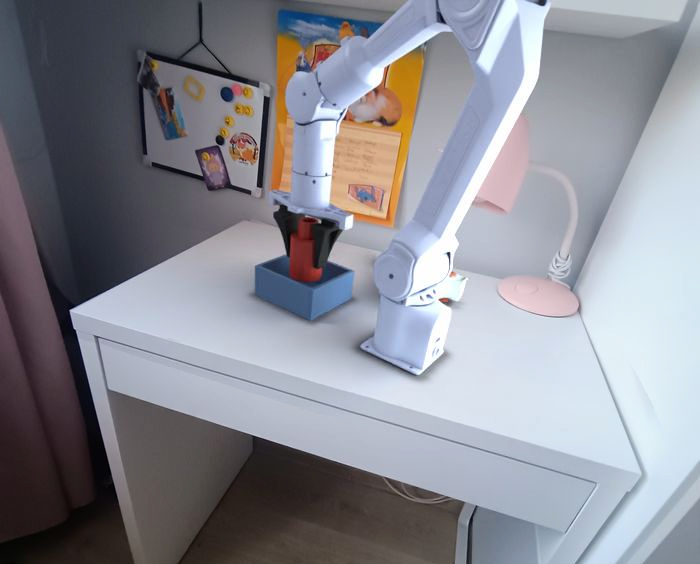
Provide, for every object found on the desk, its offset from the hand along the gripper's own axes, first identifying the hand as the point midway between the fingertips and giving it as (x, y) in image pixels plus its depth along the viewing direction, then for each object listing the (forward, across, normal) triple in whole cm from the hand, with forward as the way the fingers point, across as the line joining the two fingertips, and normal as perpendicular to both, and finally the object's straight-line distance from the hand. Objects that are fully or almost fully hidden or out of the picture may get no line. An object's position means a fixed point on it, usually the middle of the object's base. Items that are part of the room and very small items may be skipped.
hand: (305, 261), depth 74 cm
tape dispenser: (+6, +12, +18) cm, 22 cm away
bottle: (+2, 0, 0) cm, 2 cm away
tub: (+6, 0, 0) cm, 6 cm away
